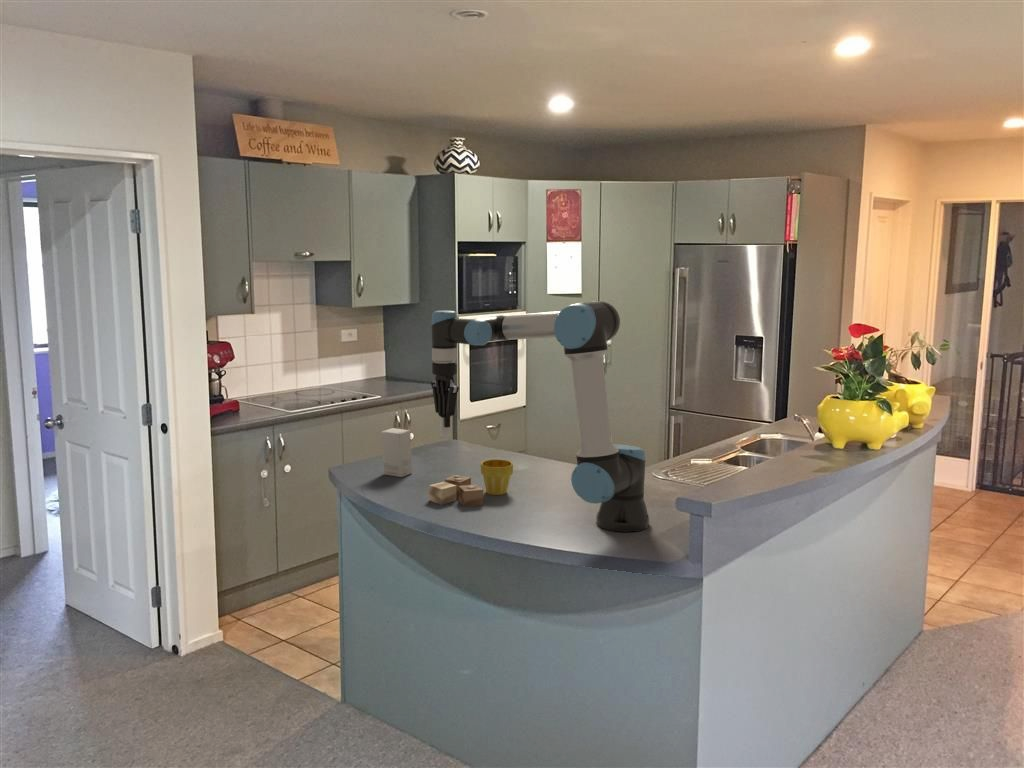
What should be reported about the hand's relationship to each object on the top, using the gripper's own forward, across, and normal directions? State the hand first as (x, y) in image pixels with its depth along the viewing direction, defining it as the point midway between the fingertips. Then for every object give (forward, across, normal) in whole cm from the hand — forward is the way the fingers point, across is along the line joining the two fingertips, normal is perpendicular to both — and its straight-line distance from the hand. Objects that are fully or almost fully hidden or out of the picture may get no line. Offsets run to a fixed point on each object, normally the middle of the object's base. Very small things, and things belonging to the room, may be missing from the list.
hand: (445, 436), depth 266 cm
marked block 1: (+21, +5, -7) cm, 22 cm away
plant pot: (+21, -2, -18) cm, 28 cm away
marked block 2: (+21, -6, -5) cm, 22 cm away
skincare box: (+20, +36, -2) cm, 41 cm away
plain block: (+21, +1, +1) cm, 21 cm away
